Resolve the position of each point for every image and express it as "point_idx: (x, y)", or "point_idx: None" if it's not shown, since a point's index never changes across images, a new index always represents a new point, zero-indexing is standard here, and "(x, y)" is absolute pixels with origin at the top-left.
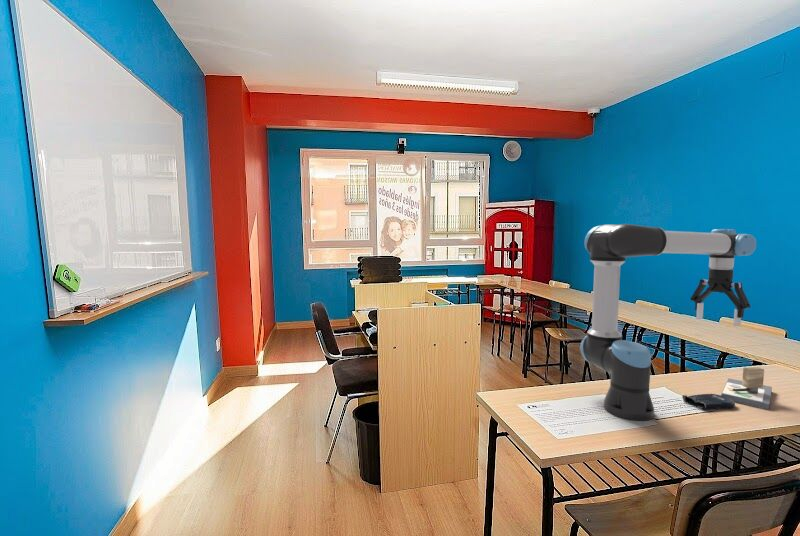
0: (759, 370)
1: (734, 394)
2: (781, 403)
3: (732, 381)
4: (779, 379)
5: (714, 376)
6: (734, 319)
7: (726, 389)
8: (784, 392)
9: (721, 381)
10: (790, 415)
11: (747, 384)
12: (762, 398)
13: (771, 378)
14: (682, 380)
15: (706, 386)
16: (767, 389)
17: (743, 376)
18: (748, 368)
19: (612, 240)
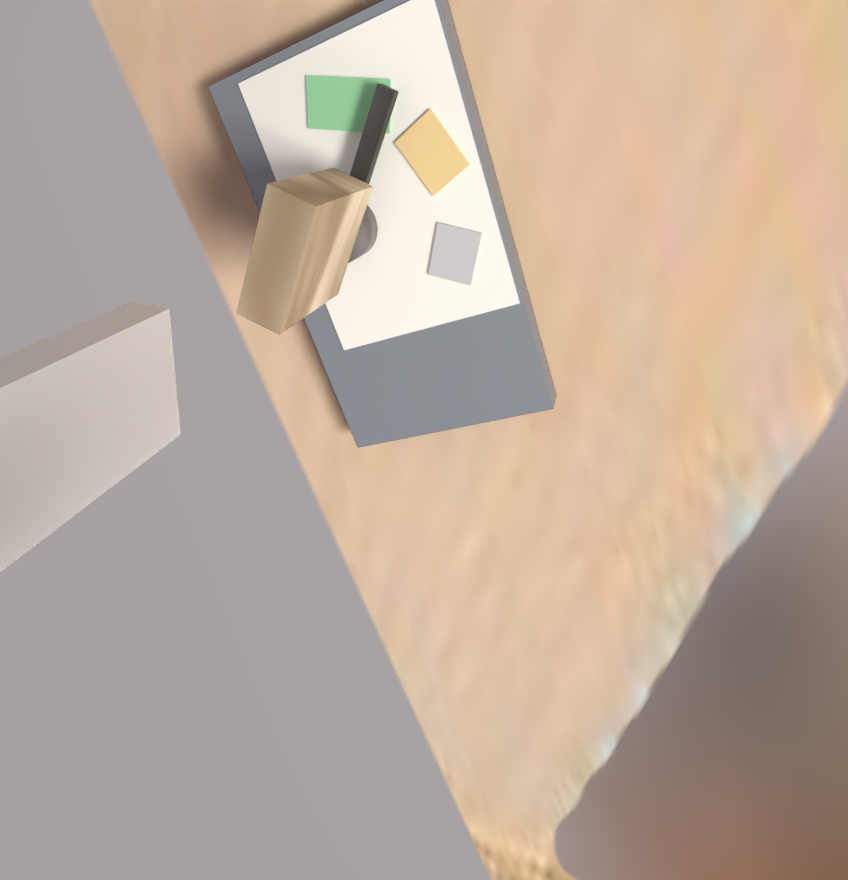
0: (249, 273)
1: (375, 49)
2: None
3: (511, 360)
4: (437, 659)
5: (662, 463)
6: (58, 351)
7: (452, 117)
8: (338, 476)
9: (594, 393)
10: (148, 105)
11: (326, 172)
12: (268, 155)
13: (462, 650)
14: (798, 152)
15: (615, 183)
16: (345, 377)
17: (339, 193)
18: (287, 220)
19: None
